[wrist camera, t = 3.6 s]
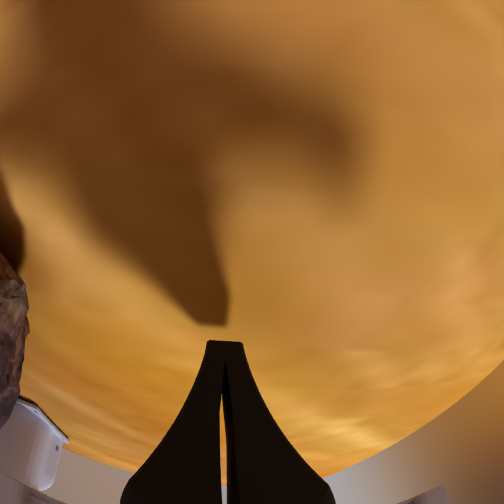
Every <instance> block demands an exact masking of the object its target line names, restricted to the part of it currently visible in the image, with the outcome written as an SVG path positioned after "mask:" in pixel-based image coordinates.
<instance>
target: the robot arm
mask: <svg viewBox="0 0 504 504" xmlns="http://www.w3.org/2000/svg"><path fill="white" fill-rule="evenodd" d="M221 395H222V401H223V412H224V422H225V432H226V445H227V504H336V503H335V499H334V496H333V493H332V491H331V489H330V487H329V485H328V484H327V483H326V482H325V481H324V480H323V479H322V478H321V477H320V476H319V475H318V474H317V473H316V472H315V471H314V470H313V469H312V468H311V467H310V466H309V465H308V464H307V463H306V462H305V461H304V459H303V458H302V457H301V456H300V455H299V453H298V452H297V451H296V450H295V448H294V447H293V446H292V445H291V443H290V442H289V441H288V440H287V438H286V437H285V435H284V434H283V432H282V431H281V430H280V428H279V426H278V425H277V423H276V422H275V420H274V419H273V417H272V415H271V413H270V412H269V410H268V408H267V406H266V404H265V402H264V400H263V398H262V396H261V394H260V392H259V390H258V388H257V385H256V383H255V381H254V378H253V376H252V373H251V371H250V368H249V365H248V362H247V359H246V355H245V351H244V347H243V344H242V343H241V342H232V341H216V340H209V341H207V345H206V350H205V354H204V358H203V361H202V364H201V367H200V370H199V372H198V375H197V377H196V380H195V382H194V385H193V387H192V389H191V391H190V393H189V395H188V397H187V399H186V401H185V403H184V405H183V407H182V409H181V411H180V412H179V414H178V416H177V418H176V419H175V421H174V423H173V424H172V426H171V427H170V429H169V430H168V432H167V433H166V435H165V437H164V438H163V439H162V441H161V442H160V444H159V445H158V446H157V448H156V449H155V450H154V451H153V453H152V454H151V455H150V457H149V458H148V459H147V460H146V462H145V463H144V464H143V465H142V466H141V467H140V468H139V469H138V471H137V472H136V473H135V474H134V475H133V476H132V477H131V478H130V479H129V481H128V483H127V484H126V486H125V488H124V491H123V493H122V496H121V499H120V504H222V492H221V468H220V416H219V412H220V403H221ZM63 442H65V443H67V444H70V440H69V439H68V438H67V437H66V436H65V435H63V434H62V433H61V432H60V431H59V430H58V428H57V427H56V426H55V425H54V424H53V423H52V422H51V421H50V420H49V419H48V418H47V417H46V416H45V415H44V414H43V412H42V411H41V410H40V409H39V408H38V407H37V406H35V405H34V404H31V403H29V402H26V401H24V400H21V399H19V398H18V400H17V402H16V404H15V406H14V408H13V411H12V413H11V416H10V418H9V420H8V421H7V423H6V424H5V425H4V426H3V427H2V428H1V429H0V504H66V503H63V502H61V501H58V500H56V499H54V498H51V497H49V496H47V495H45V494H43V493H41V492H39V491H42V490H46V489H48V488H49V487H51V485H52V484H53V482H54V480H55V476H56V471H57V466H58V461H59V457H60V453H61V449H62V445H63ZM398 504H449V500H448V496H447V492H446V489H445V485H444V484H441V485H439V486H437V487H435V488H433V489H431V490H429V491H426V492H424V493H422V494H420V495H417V496H415V497H413V498H411V499H408V500H405V501H403V502H400V503H398Z"/></svg>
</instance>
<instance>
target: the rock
mask: <svg viewBox="0 0 504 504" xmlns="http://www.w3.org/2000/svg"><path fill="white" fill-rule="evenodd" d="M28 309H29V305H28V297H27V293H26V285H25V283H24V282H23V280H22V278H21V277H20V276H19V275H17V274H16V273H15V272H14V271H13V269H12V267H11V265H10V264H9V262H8V261H7V260H6V258H5V257H4V256H3V255H2V254H1V252H0V429H1V428H2V427H3V426H4V425H5V424H6V423H7V421H8V420H9V418H10V416H11V413H12V411H13V408H14V406H15V404H16V402H17V400H18V397H19V395H20V387H19V381H20V378H21V372H22V363H23V361H24V348H25V339H26V336H27V335H28V334H29V333H30V329H29V322H28V318H27V316H26V315H27V312H28Z"/></svg>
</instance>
